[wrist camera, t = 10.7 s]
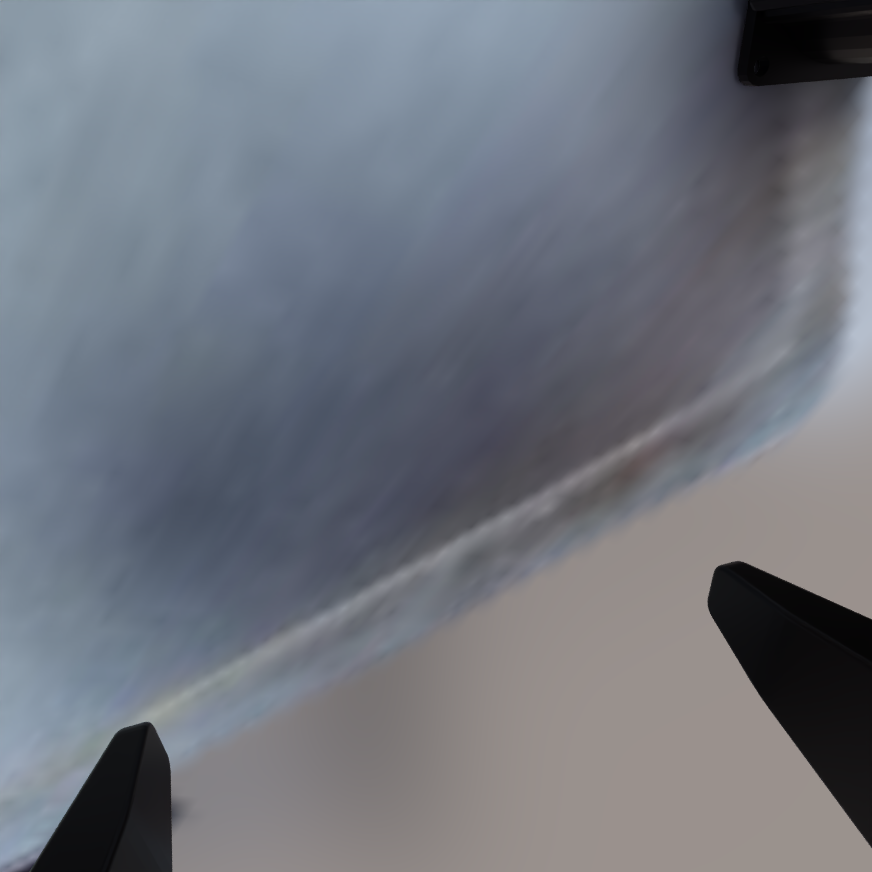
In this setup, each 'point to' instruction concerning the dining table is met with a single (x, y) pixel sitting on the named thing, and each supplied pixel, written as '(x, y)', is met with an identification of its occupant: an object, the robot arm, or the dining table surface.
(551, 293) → the dining table surface
